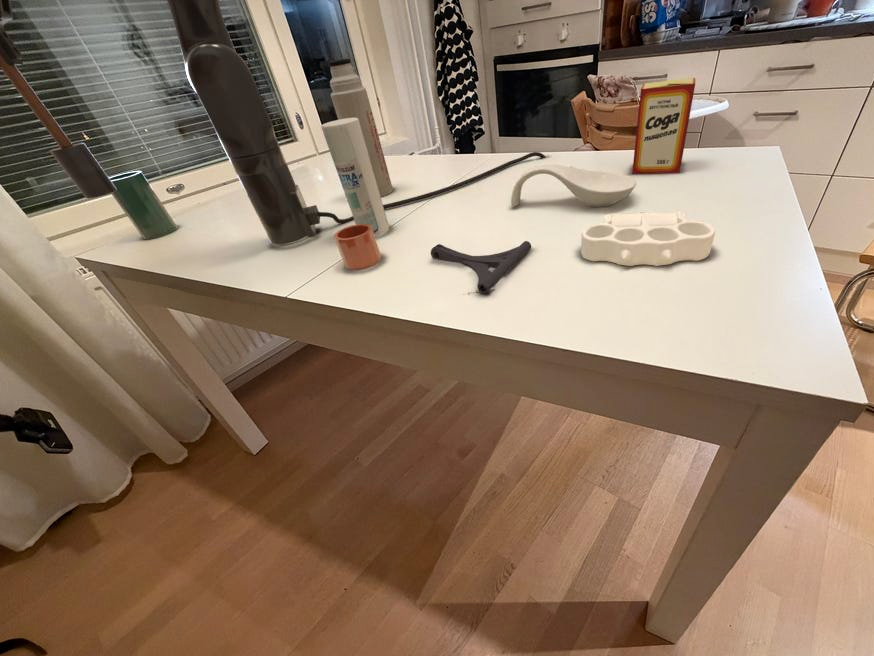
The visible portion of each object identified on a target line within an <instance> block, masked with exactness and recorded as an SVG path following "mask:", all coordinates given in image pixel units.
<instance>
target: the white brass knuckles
mask: <svg viewBox="0 0 874 656" xmlns="http://www.w3.org/2000/svg"><path fill="white" fill-rule="evenodd" d="M715 235H716V230H715V228H714V226H712V225H711V224H709V223H707V222H702V221H698V220H689V219H687V218H686V217H685V214H684V212H682V211H681V210H678V211H675V212H657V213H656V212H655V213H647V212H640V213H628V214H627V213H626V214H624V213H623V214H612V213H607V214H606V215H604V222H602V223H597V224H593V225H590V226H587V227H586V228H584V229H583V230H582V232H581V239H580V253H581V254H580V255H581V256H582V257H583V258H584V259H585V260H587V261H589V262H610V263H614V264H616V265H619V266H626V267H627V266H628V267H632V266H639V265H649V266H655V267H657V266H659V267H660V266H666V265H671V264H675V263H677V262H681V261H695V262H697V261H703V260H704V259H706V258H707V257H708V256H709V255H710V254H711V250H712V247H713V242H714V239H715Z"/></svg>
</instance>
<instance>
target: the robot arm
mask: <svg viewBox="0 0 874 656" xmlns="http://www.w3.org/2000/svg"><path fill="white" fill-rule="evenodd" d="M166 4H167V5H168V7H169V11H170V15H171V17H172V21H173V25H174V27H175V31H176V35H177V39H178V42H179V47H180V50H181V54H182V58H183V62H184V70H185V73H186V77H187V79H188V82H189V84H190V86H191V87H192V89H193V91H194V92H195V93H196V94H197V97H198V98H199V100H200V103H201V104H202V106H203V108H204V110H205V112H206V114H207V116H208V119H209V120H210V122H211V124H212V126H213V128H214V130H215V133H216V135H217V137H218V140H219V141H220V144H221V146H222V148H223V150H224V152H225V154H226V156H227V157H228V160H229V162H230V163H231V166H232V168H233V169H234V172H235V174H236V176H237V178H238V179H239V182H240V184H241V185H242V188H243V189H244V191H245V193H246V196H247V197H248V200H249V202H250V204H251V205H252V207H253V209H254V212H255V213H256V216H257V217H258V219H259V222H260V224H261V225H262V227H263V229H264V231H265V233H266V235H267V237H268V239H269V242H270V244H271V246H273V247H287V246H292V245H296V244H299V243H301V242H304V241H306V240H308V239H311V238H314V237H315V236H316V234H317V226H316V225H319V224H321V218H323V217H324V218H331V219H333V221H334V222H335V223H337V224H340V225H341V224H346V223H350V222H352V221H354V218H353V215H352V216H350V217H347V218H339V217H338V216H337V215H336V214H335V213H332V212H328V211H320V210H319V208H318V206H317V205H316V204H314V205H311V206H307V203H306V200H305V198H304V196H303V194H302V191H301V189H300V187H299V185H298V184H297V183H296V182H295V180H294V177H293V175H292V172H291V171H290V167H289V166H288V164H287V161H286V158H285V156H284V153H283V152H282V151H283V150H282V149H281V147H280V144H279V142H278V140H277V139H278V138H277V136H276V134H275V129H274V125H273V122H272V120H271V118H270V115H269V113H268V110H267V108H266V107H267V106H266V105H265V102H264V100H263V98H262V97H263V96H262V95H261V92H260V90H259V87H258V85H257V82H256V80H255V78H254V76H253V74H252V72H251V70H250V67H249V66H248V64H247V62H245V60H244V59H243V58H242V56H241V55H240V54H238V52H236V50H235V48H234V45H233V43H232V40H231V36H230V34H229V31H228V29H227V28H228V27H227V26H226V23H225V19H224V17H223V14H222V13H223V12H222V9H221V5H220V2H219V0H166ZM13 20H14V13H13V7H12V1H11V0H0V54H1V55H2V56H3V58H4V59H5V61H6V62H7V63H8V64H9V65H15V66H21V65H23V64H24V63H23V60H22V59H24V58H23V55H22V53H21V51H20V50H19V48H18V47H17V46H16V43H14V41H13V39H12V38H11V37H10V35H9V34H8V33H7V31H6V29H5V25H6V23H8V22H9V21H13ZM532 157H539V158H541V159H546V158H547V156H546V155H545V154H543V153H541V152H539V151H533V152H529V153H527V154H525V155H523V156H521V157H519V158H518V157H517V158H515V159H512V160H509V161H507V162H504V163H503V164H500V165H498V166H495V167H494V168H491V169H489V170H487V171H484V172H482V173H479V174H477V175H475V176H472V177H470V178H467V179H465V180H463V181H460V182H457V183H454V184H451V185H449V186H446V187H442V188H440V189H437V190H434V191H430V192H427V193H424V194H420V195H416V196H412V197H410V198H409V197H408V198H405V199H402V200H397V201H393V202H389V203H386V204H383V207H384V210H386V209H387V210H388V209H391V208H395V207H399V206H403V205H407V204H411V203H415V202H419V201H422V200H425V199H428V198H432V197H436V196H438V195H441V194H444V193H448V192H450V191H452V190H456V189H458V188H461V187H464V186H466V185H468V184H471V183H474V182H476V181H479V180H480V179H483V178H485V177H487V176H490V175H492V174H494V173H497V172H499V171H501V170H503V169H506V168H507V167H510V166H512V165H516V164H518V163H521V162H524V161H525V160H527V159H531V158H532Z"/></svg>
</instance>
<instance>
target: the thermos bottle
mask: <svg viewBox="0 0 874 656" xmlns="http://www.w3.org/2000/svg"><path fill="white" fill-rule="evenodd" d="M327 66H328V68H330V74H331V79H330V81H329V84H330V85H329V87H330V88H331V90H332V92H331V93H330V98H331V101H332V104H333V107H334V111H335V113H336V117H337V120H340V119H346V118H358V120H359V123H360V126H361V130H362V133H363V137H364V140H365V144H366V147H367V151H368V154H369V158H370V161H371V165H372V168H373V172H374V175H375V179H376V182H377V186H378V190H379V193H380V197H381V198H382V197H384V196H388V195H390V194H391V193H392V192H393V191H394V189H393V184H392V181H391V177H390V173H389V171H388V166H387V162H386V158H385V154H384V151H383V147H382V142H381V140H380V136H379V133H378V129H377V125H376V121H375V118H374V114H373V110H372V106H371V102H370V98H369V96H368V95H369V94H368V91H367V88H366V87H364V86H363V85H362V80H361V78H360V76H359V75H358V74H356V73H355V71H354V67H353V66H352V61H351V58H340V59H339V58H338V59H335V60H331V61H328V62H327Z"/></svg>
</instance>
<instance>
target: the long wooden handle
mask: <svg viewBox="0 0 874 656" xmlns="http://www.w3.org/2000/svg"><path fill="white" fill-rule="evenodd" d="M0 70H1V71H2V72H3V73H4V75H5V76H6V77H7V79H8V80H9V82H10V83H11V84H12V85H13V87H14V88H15V89H16V91H17V92H18V93H19V95H20V97H22V99H23V100H24V101H25V103H26V104H27V105H28V107H29V108H30V109H31V111H32V112H33V113H34V115H35V116H36V117H37V119H39V121H40V122H41V124H42V125H43V127H44V128H45V129H46V131H47V132H48V133H49V135H50V136H51V137H52V139H53V140H54V141H55V143H56V144H57V145H58V146H59V147H57V148H53V149H50V150H49V152H50V154H51V155H52V156H53V157H54V159H55V160H56V161H57V163H58V164H59V165H60V167H61V168H62V170H63V171H65V173H66V175H67V176H68V177H69V178H70V180H71V181H72V182H73V184H74V185H75V186H76V187H77V189H78V190H79V191H80V192H81V194H82V195H83V196H84V198H85V199H94V198H98V197H102V196H106V195H109V194H111V193H112V192H114V191H116V190H117V189H116V187H115V186H114V184H113V183H112V182H111V180H110V179H109V178H110V177H109V176H108V174H107V173H106V172H105V170H104V168H103V167H102V166H101V165H100V163H99V162H98V161H97V159H96V157H95V156H94V155H93V153H92V152H91V151H90V149H89V148H88V147H87V145H86V143H84V142H79V143H74V144H73V143H72V142H71V140H70V138H68V136H67V134H66V133H65V132H64V131H63V129H62V128H61V126H60V125H59V123H58V122H57V121H56V120H55V118H54V117H53V115H52V113H50V110H48V108H47V107H46V106H45V104H44V103H43V101H42V100H41V99H40V98H39V96H38V95H37V94H36V92H35V91H34V89H33V88H32V87H31V85H30V84H29V83H28V81H27V79H26V78H25V77H24V75H23V74H22V72H21V71H20V70H19V68H18V67H17V65H9V64H8V63H7V62H6V61H5V59H4V58H3V56H2V55H1V54H0Z"/></svg>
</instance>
